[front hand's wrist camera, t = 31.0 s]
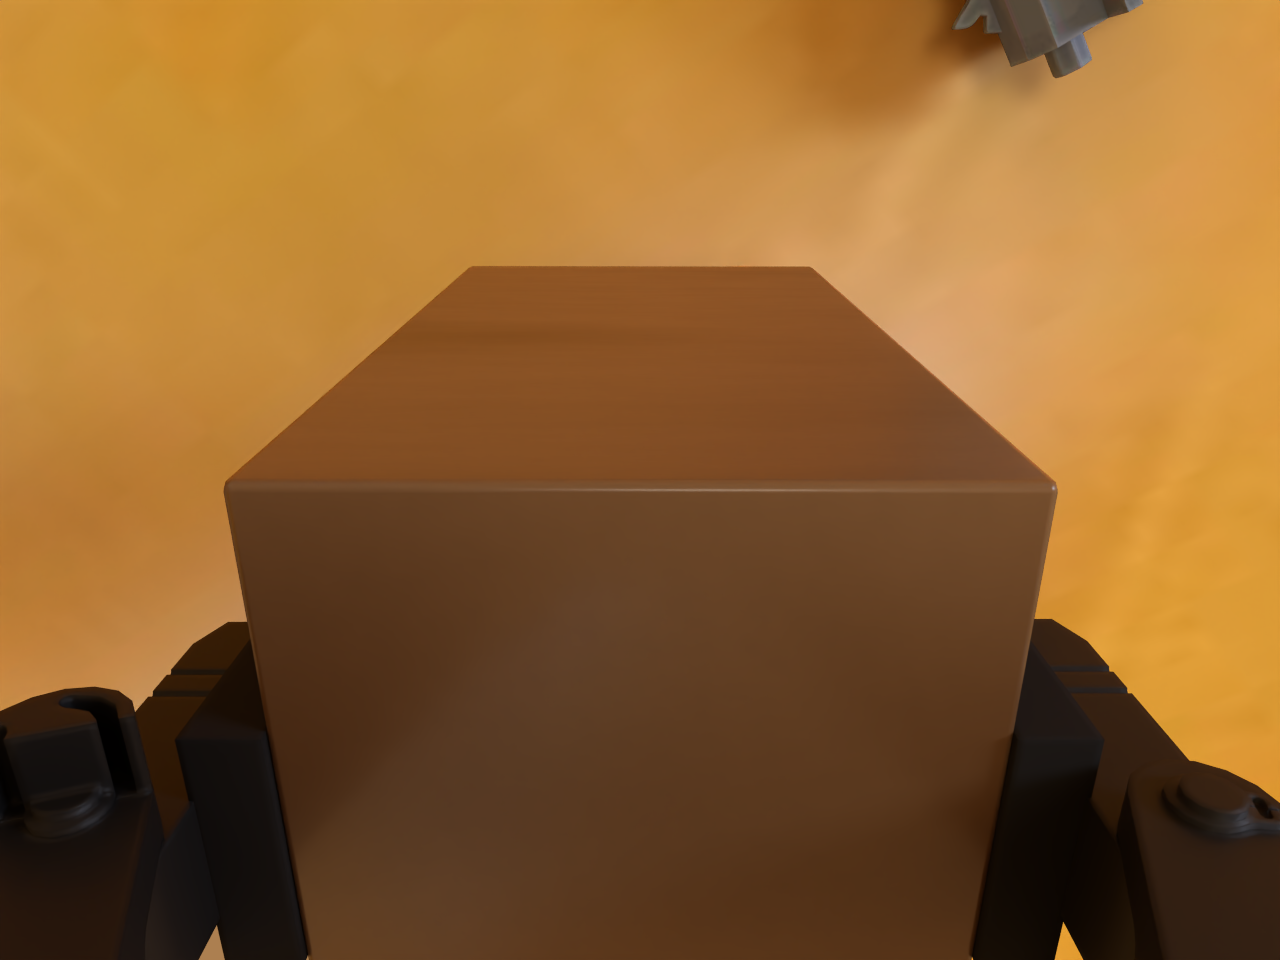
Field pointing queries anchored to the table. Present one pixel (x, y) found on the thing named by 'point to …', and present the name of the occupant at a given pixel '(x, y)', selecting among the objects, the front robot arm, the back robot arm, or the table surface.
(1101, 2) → the toy gun
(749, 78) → the table surface
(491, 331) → the block
